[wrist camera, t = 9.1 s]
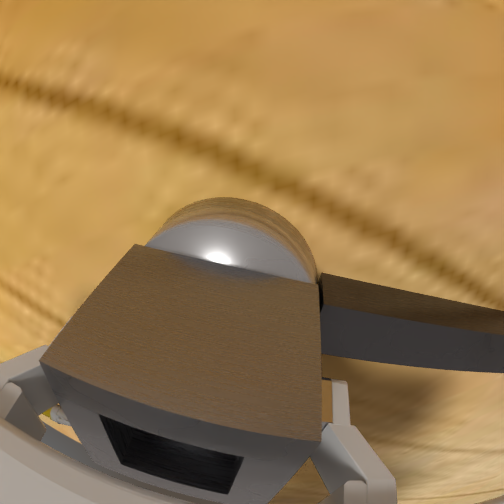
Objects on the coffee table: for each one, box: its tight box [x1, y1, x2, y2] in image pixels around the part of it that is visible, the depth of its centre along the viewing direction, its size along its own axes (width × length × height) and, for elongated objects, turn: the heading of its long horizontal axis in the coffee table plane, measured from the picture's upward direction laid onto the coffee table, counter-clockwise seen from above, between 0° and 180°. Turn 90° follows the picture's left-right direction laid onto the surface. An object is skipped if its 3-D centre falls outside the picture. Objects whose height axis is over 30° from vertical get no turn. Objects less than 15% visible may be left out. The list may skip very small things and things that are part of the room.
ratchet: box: [145, 197, 504, 373], centre depth 11 cm, size 20×7×6 cm, turn 80°
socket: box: [39, 244, 322, 504], centre depth 9 cm, size 6×6×5 cm
